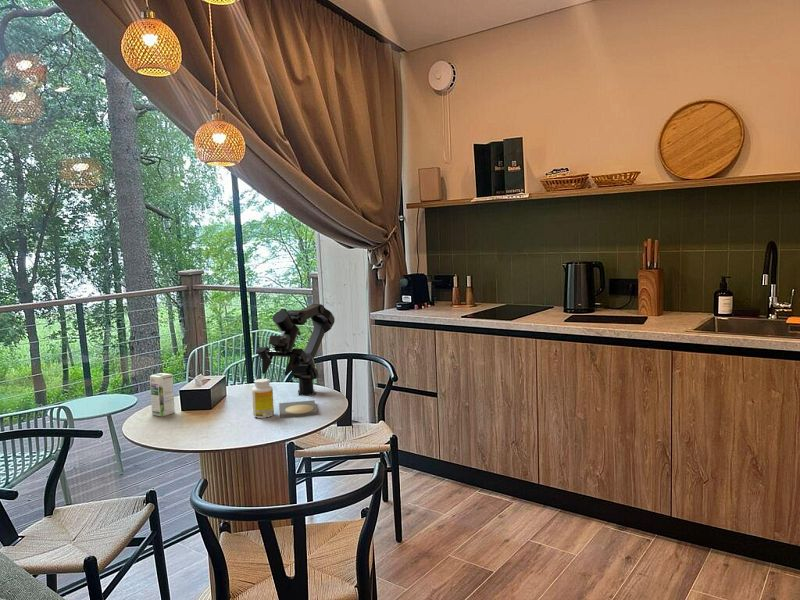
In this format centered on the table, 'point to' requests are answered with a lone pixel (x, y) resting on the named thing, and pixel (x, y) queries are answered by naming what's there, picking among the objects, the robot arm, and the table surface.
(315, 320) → the robot arm
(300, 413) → the plate
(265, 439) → the table surface
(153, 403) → the syrup box
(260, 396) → the supplement bottle
